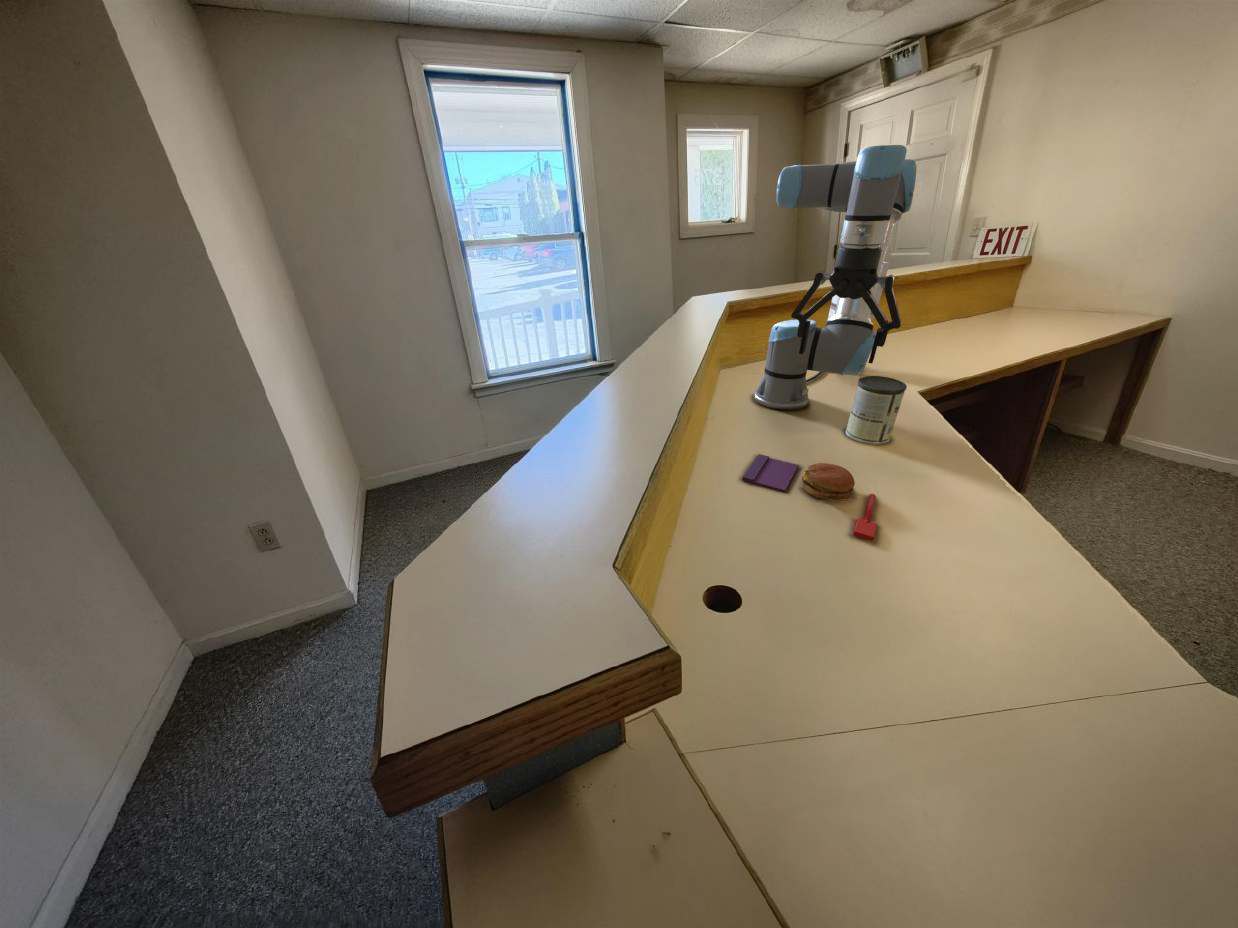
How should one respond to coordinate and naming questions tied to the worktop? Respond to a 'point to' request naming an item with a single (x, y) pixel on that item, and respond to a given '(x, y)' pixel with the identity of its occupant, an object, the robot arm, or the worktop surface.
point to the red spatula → (866, 522)
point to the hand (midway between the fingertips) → (835, 356)
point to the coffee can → (875, 409)
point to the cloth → (770, 473)
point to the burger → (828, 482)
